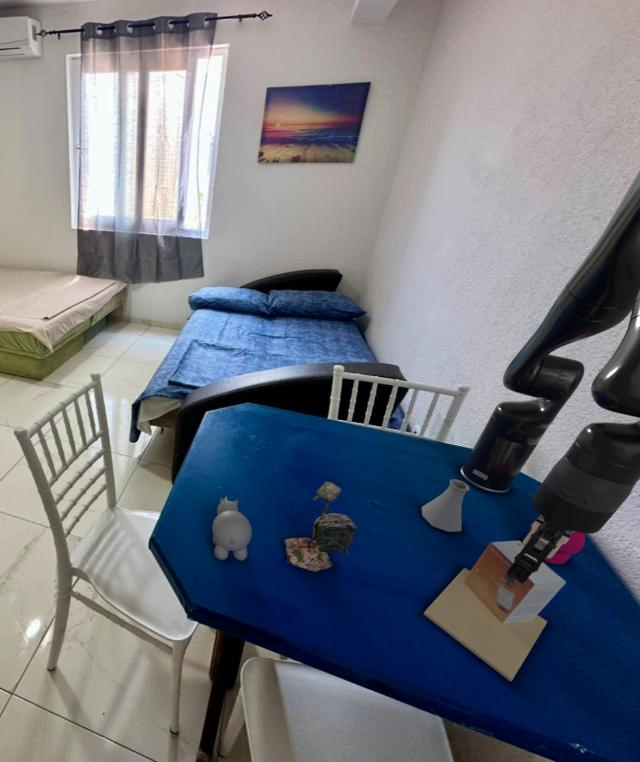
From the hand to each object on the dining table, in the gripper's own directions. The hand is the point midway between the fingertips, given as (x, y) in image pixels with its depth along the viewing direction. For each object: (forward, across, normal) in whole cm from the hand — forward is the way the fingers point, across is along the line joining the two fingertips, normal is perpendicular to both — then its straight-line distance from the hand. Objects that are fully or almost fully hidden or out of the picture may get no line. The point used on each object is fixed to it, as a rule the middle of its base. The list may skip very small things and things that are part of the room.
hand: (524, 565), depth 66 cm
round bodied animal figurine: (+10, -30, +35) cm, 47 cm away
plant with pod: (+10, -19, +23) cm, 32 cm away
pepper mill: (+10, +22, -1) cm, 24 cm away
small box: (+10, 0, 0) cm, 10 cm away
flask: (+10, +13, +14) cm, 22 cm away
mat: (+10, -5, 0) cm, 11 cm away
